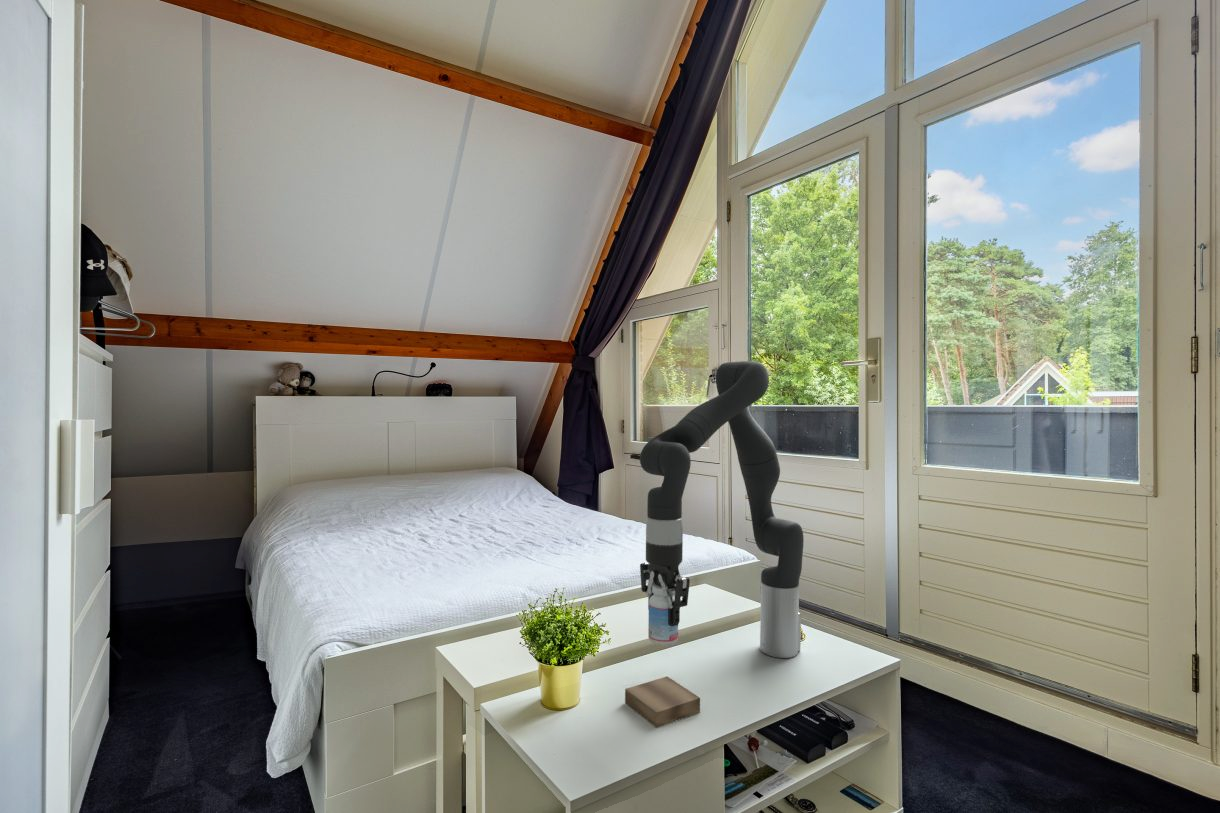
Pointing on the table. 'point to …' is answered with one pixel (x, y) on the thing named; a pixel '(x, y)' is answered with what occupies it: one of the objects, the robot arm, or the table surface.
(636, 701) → the walnut stand
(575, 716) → the table surface
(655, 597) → the pill bottle
